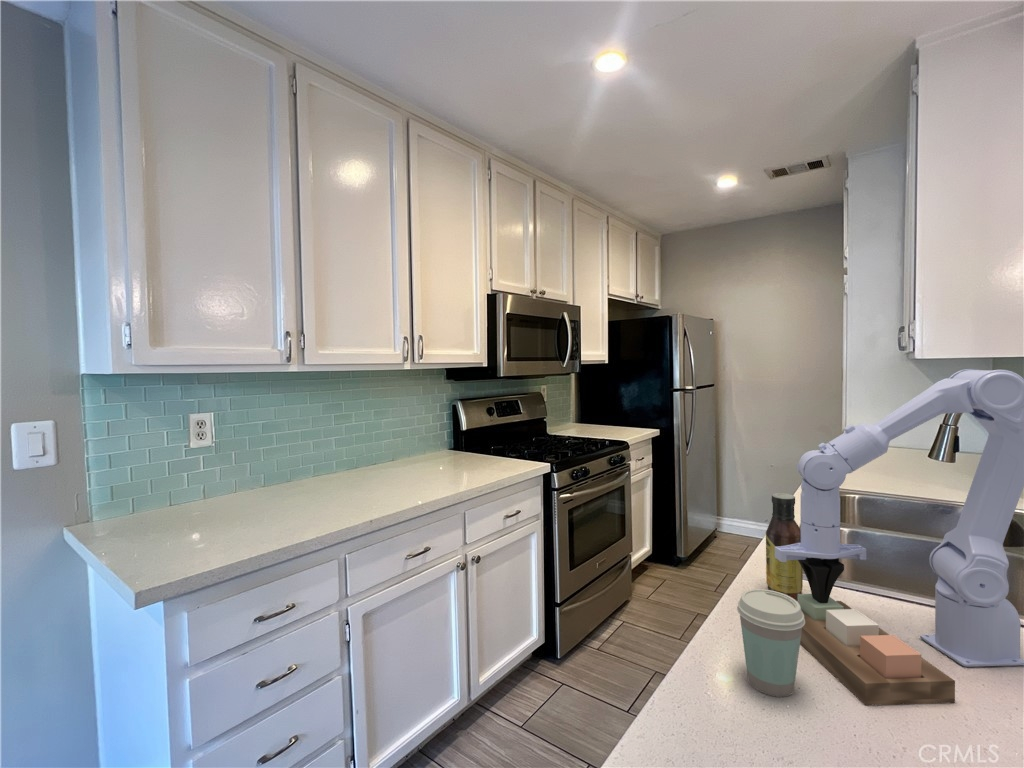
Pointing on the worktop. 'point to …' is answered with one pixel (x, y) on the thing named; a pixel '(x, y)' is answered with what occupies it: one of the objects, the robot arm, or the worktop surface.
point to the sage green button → (817, 606)
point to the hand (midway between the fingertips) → (819, 600)
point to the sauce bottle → (781, 534)
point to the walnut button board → (873, 671)
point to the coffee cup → (771, 639)
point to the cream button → (849, 626)
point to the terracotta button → (890, 656)
